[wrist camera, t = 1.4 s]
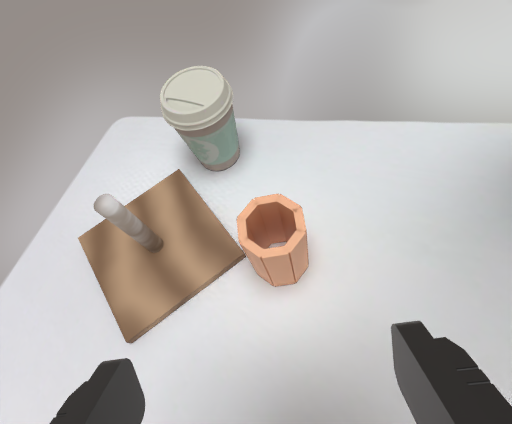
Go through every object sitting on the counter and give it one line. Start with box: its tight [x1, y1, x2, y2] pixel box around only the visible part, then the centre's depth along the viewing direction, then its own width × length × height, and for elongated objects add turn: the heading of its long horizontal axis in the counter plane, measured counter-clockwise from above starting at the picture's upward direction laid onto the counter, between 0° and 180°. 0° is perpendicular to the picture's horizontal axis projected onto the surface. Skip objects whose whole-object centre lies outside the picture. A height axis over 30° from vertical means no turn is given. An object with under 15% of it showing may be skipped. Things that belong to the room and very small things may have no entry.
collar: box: [237, 194, 308, 287], centre depth 33 cm, size 6×6×10 cm
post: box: [78, 169, 246, 343], centre depth 35 cm, size 16×16×12 cm
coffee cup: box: [160, 66, 240, 171], centre depth 40 cm, size 8×8×12 cm
